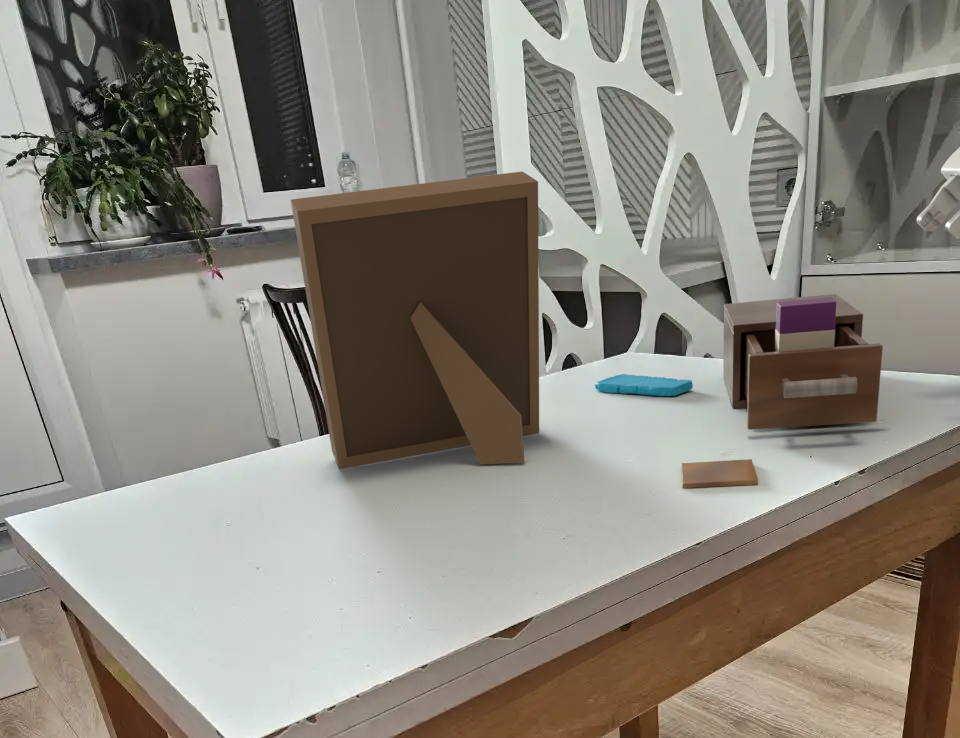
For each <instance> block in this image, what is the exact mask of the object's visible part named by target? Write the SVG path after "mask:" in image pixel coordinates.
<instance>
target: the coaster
mask: <svg viewBox="0 0 960 738" xmlns="http://www.w3.org/2000/svg"><path fill="white" fill-rule="evenodd" d="M680 465H681V466H680V467H681V483H682V484H681V485H682V489H693V488H712V487H731V486H732V487H733V486H752V485H758V484H759V479H758V476H757V472H756V469H755V466H754V462H753V459H751V458H750V459H749V458H748V459H730V460H718V461H717V460H714V461H713V460H712V461H698V462H696V461H695V462H682V463H681V464H680Z"/></svg>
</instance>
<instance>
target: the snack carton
mask: <svg viewBox="0 0 960 738" xmlns="http://www.w3.org/2000/svg"><path fill="white" fill-rule="evenodd" d="M835 319H836V301H835V300H833V299H832V298H831V297H825V298H814V299H803V300H792V301H780V302H777V306H776V329H775V352H779V351H791V350H804V349H816V348H829V347H834V340H835Z"/></svg>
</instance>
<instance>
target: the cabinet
mask: <svg viewBox="0 0 960 738" xmlns="http://www.w3.org/2000/svg"><path fill="white" fill-rule="evenodd" d="M825 297H831V298H832V299H833V300H835V301H836V319H835V325H836V324H846V325H847V326H848V327H849V328H851V329H852V330H853V331H854V332H855V333H856V334H858V335H859V336H860V337H861V338H862V339H863V337H862V336H863V322H864V313H862V312H861V311H860V310H858V309H857V308H855V307H854V306H853V305H852V304H850V303H848V302H847V301H846V300H845V299H843V298H842V297H841V296H840V295H838V294H836V293H831V294H823V295H822V294H820V295H808V296H797V297H786V298H776V299H767V300H754V301H753V300H752V301H745V302H744V301H743V302H742V301H741V302H733V303H731V302H730V303H724V304H723V365H722V366H723V369H722V370H723V373H722V374H723V375H722V377H724V378H723V381H724V380H725V381H724V385H725V387H726V391H727V394H728V397H729V402H730V405H731V408H732V409H733V408H734V409H746V408H747V404H748V403H747V400H746V397H745V394H744V392H743V369H744V332H753V331H765V330H775V329H776V306H777V302H780V301H792V300H803V299H814V298H825Z"/></svg>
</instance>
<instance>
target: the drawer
mask: <svg viewBox="0 0 960 738" xmlns="http://www.w3.org/2000/svg"><path fill="white" fill-rule="evenodd" d="M883 348H884V346H883V344H881V343H879V342H878V343H868V342H867V341H866V340H865V339H863V337H862V338H861V337H860V336H859V335H858V334H856V333H855V332H854V331H853V330H852V329H851V328H849V327H848V326H847V325H846V324H836V325H835V340H834V347H829V348H816V349H804V350H791V351H779V352H775V330H765V331H753V332H744V369H743V392H744V394H745V397H746V400H747V403H748V404H747V411H746V427H747V430H748V431H751V430H765V429H782V428H796V427H797V428H798V427H812V426H813V427H814V426H829V425H845V424H859V423H876V422H877V420H878V407H879V397H880V385H881V373H882V363H883V351H884V350H883Z"/></svg>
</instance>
